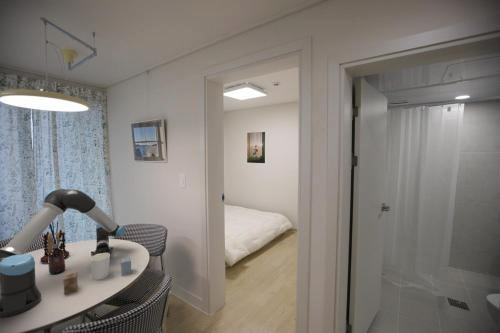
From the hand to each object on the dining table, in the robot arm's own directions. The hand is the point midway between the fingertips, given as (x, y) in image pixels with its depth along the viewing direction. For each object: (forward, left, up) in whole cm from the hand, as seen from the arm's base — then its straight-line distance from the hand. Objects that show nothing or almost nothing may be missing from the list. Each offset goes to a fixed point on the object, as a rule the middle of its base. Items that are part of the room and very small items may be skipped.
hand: (101, 261), depth 135 cm
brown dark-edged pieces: (-28, +36, -7) cm, 46 cm away
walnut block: (-14, -14, -6) cm, 21 cm away
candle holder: (-1, -6, -7) cm, 9 cm away
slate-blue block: (+12, -10, -6) cm, 17 cm away
